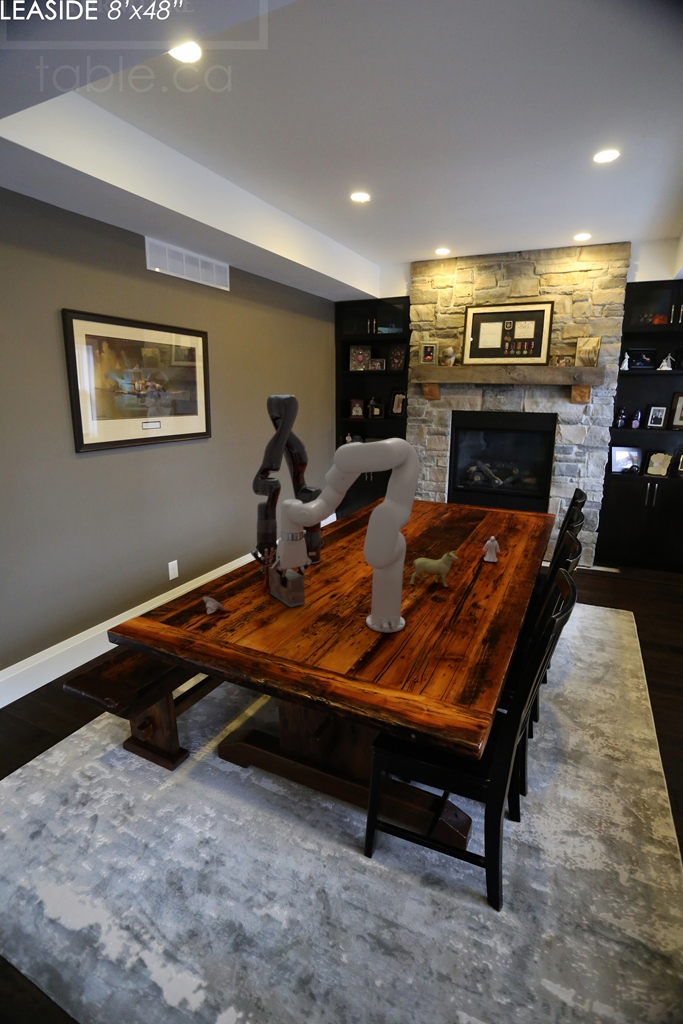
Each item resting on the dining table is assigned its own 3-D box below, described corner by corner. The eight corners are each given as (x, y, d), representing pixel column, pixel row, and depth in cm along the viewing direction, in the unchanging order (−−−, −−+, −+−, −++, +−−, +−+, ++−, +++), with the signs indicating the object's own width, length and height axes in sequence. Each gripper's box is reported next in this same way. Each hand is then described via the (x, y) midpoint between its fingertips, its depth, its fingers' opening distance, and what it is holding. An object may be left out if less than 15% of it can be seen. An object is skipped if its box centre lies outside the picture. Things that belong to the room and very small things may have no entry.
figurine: (481, 562, 222) (483, 536, 219) (482, 556, 230) (484, 531, 227) (499, 564, 220) (501, 538, 217) (499, 558, 228) (501, 533, 225)
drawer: (259, 582, 194) (258, 561, 193) (269, 579, 197) (269, 559, 195) (282, 598, 178) (281, 575, 177) (293, 595, 181) (292, 573, 179)
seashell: (209, 622, 169) (193, 604, 168) (220, 611, 173) (205, 594, 172) (217, 618, 163) (201, 599, 162) (228, 607, 167) (213, 589, 166)
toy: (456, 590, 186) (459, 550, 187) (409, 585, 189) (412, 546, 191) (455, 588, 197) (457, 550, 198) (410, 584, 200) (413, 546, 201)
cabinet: (270, 593, 185) (269, 567, 183) (284, 590, 188) (283, 564, 186) (290, 607, 172) (289, 579, 170) (304, 603, 175) (304, 576, 173)
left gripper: (277, 525, 195) (277, 567, 199) (246, 529, 188) (247, 573, 191) (287, 529, 189) (286, 573, 193) (254, 534, 182) (255, 579, 185)
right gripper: (308, 529, 179) (308, 576, 183) (264, 536, 170) (264, 585, 174) (319, 534, 173) (318, 583, 177) (274, 542, 163) (274, 593, 168)
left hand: (267, 573), depth 192 cm, fingers closed
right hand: (291, 584), depth 176 cm, fingers closed on cabinet, 5 cm apart
